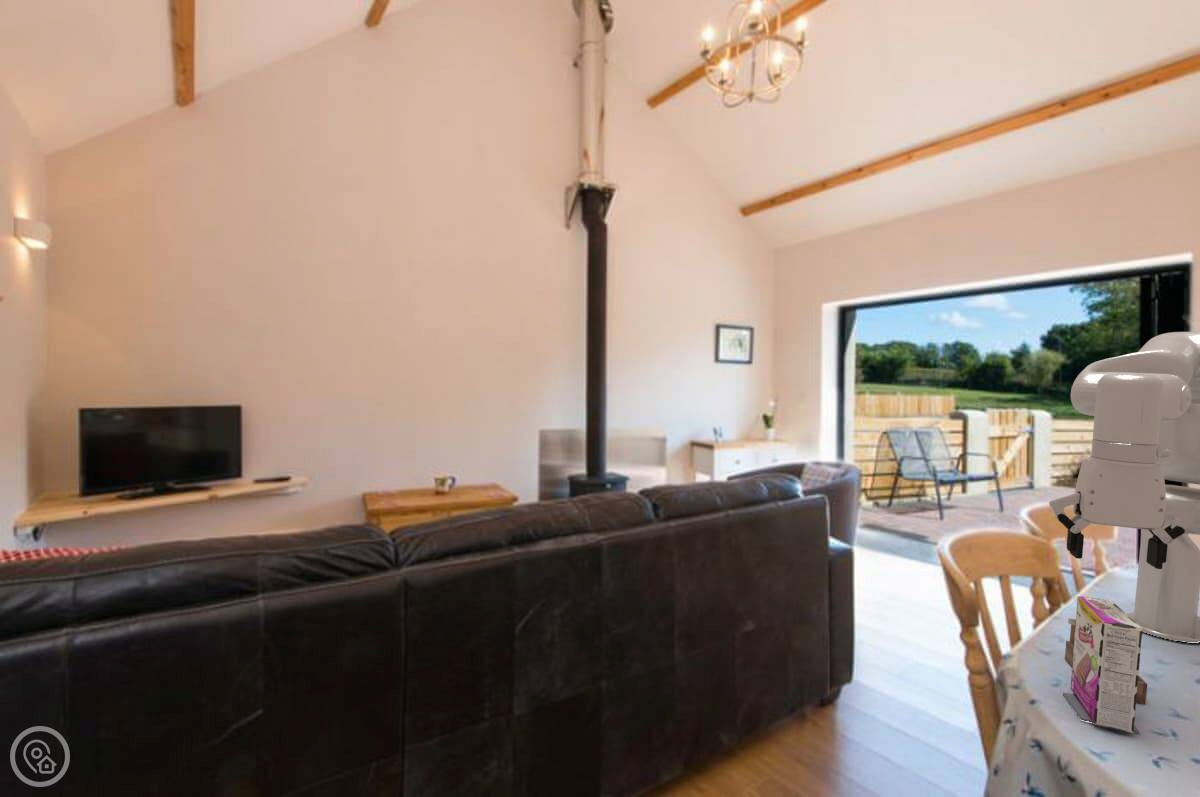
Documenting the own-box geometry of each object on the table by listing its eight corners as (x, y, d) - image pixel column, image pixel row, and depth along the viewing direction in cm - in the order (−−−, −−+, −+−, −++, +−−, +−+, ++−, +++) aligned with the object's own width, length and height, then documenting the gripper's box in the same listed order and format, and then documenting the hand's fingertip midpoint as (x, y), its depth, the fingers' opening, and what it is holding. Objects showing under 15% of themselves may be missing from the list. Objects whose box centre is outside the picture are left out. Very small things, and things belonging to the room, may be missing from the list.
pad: (1116, 706, 92) (1116, 703, 92) (1139, 734, 85) (1139, 731, 85) (1062, 694, 95) (1063, 692, 95) (1081, 721, 88) (1081, 718, 88)
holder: (1111, 667, 105) (1115, 625, 104) (1145, 704, 93) (1150, 657, 93) (1064, 658, 108) (1068, 617, 107) (1091, 693, 96) (1096, 647, 95)
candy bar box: (1067, 688, 96) (1075, 594, 95) (1105, 697, 94) (1114, 600, 93) (1092, 725, 86) (1102, 620, 85) (1135, 735, 84) (1145, 627, 83)
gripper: (1184, 455, 88) (1173, 562, 89) (1047, 445, 95) (1039, 545, 96) (1212, 462, 81) (1201, 579, 82) (1062, 451, 88) (1054, 559, 89)
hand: (1113, 561), depth 89 cm, fingers open, 9 cm apart
